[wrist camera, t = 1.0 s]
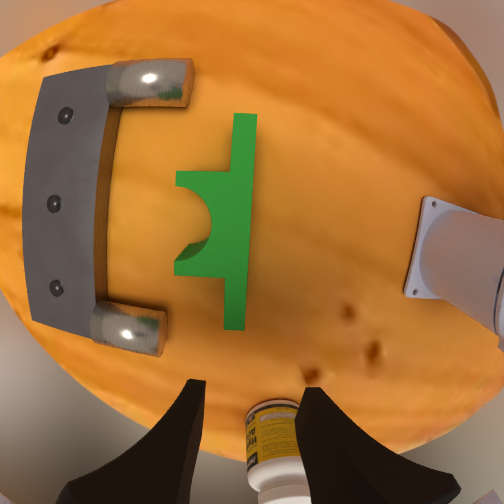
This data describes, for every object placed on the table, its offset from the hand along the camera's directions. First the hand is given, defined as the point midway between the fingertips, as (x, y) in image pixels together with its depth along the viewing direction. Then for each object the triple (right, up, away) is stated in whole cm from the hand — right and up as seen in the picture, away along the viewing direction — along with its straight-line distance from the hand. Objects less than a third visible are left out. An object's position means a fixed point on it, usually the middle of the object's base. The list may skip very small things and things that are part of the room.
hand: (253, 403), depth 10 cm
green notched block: (-2, +8, +8) cm, 12 cm away
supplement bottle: (+2, -9, +12) cm, 15 cm away
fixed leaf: (-11, +9, +7) cm, 16 cm away
